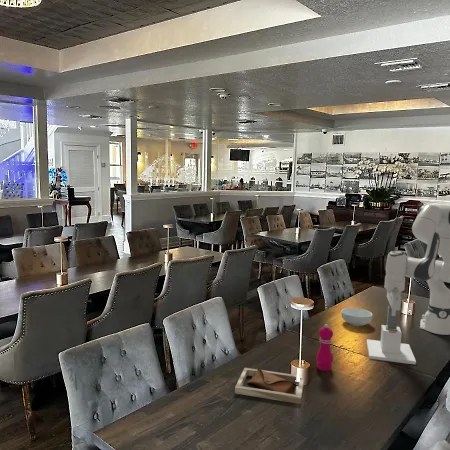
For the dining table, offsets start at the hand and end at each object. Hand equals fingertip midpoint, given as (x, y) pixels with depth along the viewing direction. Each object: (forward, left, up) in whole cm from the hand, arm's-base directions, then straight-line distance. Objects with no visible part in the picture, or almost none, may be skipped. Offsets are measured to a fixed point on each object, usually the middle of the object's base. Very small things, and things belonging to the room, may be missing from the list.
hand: (392, 313), depth 197 cm
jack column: (0, 0, -13) cm, 13 cm away
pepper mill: (+26, -30, -20) cm, 44 cm away
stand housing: (0, 0, -20) cm, 20 cm away
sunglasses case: (+50, -50, -20) cm, 73 cm away
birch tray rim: (+50, -50, -20) cm, 73 cm away
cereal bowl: (-36, -14, -20) cm, 43 cm away
